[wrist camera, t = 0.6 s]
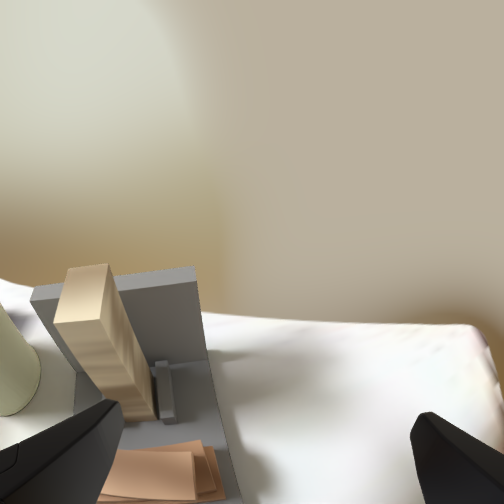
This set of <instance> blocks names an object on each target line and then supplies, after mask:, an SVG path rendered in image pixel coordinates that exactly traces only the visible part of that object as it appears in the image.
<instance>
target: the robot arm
mask: <svg viewBox="0 0 504 504" xmlns="http://www.w3.org/2000/svg"><path fill="white" fill-rule="evenodd" d="M124 424H125V421H124V417H123V413H122V409H121V405H120V403H119V402H118V401H116V400H112V399H104V400H102V401H100V402H98V403H96V404H94V405H93V406H91V407H89V408H87V409H85V410H83V411H81V412H79V413H77V414H76V415H74V416H72V417H70V418H68V419H66V420H64V421H62V422H60V423H58V424H56V425H54V426H52V427H50V428H48V429H46V430H44V431H42V432H40V433H38V434H36V435H34V436H32V437H30V438H28V439H25V440H23V441H21V442H20V443H17V444H15V445H12V446H10V447H8V448H6V449H3V450H1V451H0V504H96V502H97V500H98V498H99V495H100V493H101V491H102V488H103V486H104V484H105V481H106V479H107V477H108V474H109V472H110V470H111V467H112V465H113V462H114V459H115V455H116V452H117V448H118V445H119V442H120V438H121V435H122V432H123V429H124ZM410 440H411V445H412V450H413V455H414V460H415V466H416V471H417V476H418V479H419V483H420V486H421V489H422V493H423V496H424V500H425V504H504V454H502V453H500V452H498V451H497V450H495V449H493V448H491V447H490V446H488V445H486V444H485V443H483V442H481V441H479V440H478V439H476V438H474V437H473V436H471V435H469V434H468V433H466V432H464V431H463V430H461V429H459V428H458V427H456V426H454V425H453V424H451V423H450V422H448V421H446V420H445V419H443V418H441V417H440V416H438V415H437V414H435V413H433V412H425V413H421V414H420V415H419V416H418V417H417V420H416V422H415V424H414V426H413V428H412V430H411V432H410Z"/></svg>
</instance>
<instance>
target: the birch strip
mask: <svg viewBox="0 0 504 504" xmlns="http://www.w3.org/2000/svg"><path fill="white" fill-rule="evenodd" d="M53 324H54V325H55V327H56V329H57V330H58V332H59V333H60V335H61V337H62V338H63V340H64V341H65V343H66V344H67V346H68V347H69V349H70V350H71V352H72V353H73V355H74V356H75V358H76V359H77V361H78V362H79V363H80V365H81V366H82V368H83V369H84V370H85V372H86V373H87V374H88V376H89V377H90V378H91V380H92V381H93V382H94V384H95V385H96V386H97V388H98V389H99V390H100V391H101V393H102V394H103V395H104V396H105V398H106V399H112V400H116V401H118V402H119V403H120V405H121V409H122V413H123V417H124V420H125V421H126V422H141V421H154V420H158V419H157V409H156V399H155V387H154V376H153V374H152V372H151V370H150V368H149V366H148V364H147V361H146V359H145V357H144V355H143V352H142V350H141V348H140V346H139V343H138V341H137V339H136V336H135V334H134V331H133V329H132V326H131V324H130V321H129V319H128V316H127V314H126V311H125V309H124V306H123V303H122V301H121V298H120V295H119V292H118V290H117V287H116V284H115V281H114V278H113V275H112V272H111V270H110V266H109V264H108V263H106V264H99V265H91V266H84V267H77V268H69V269H68V272H67V275H66V279H65V282H64V285H63V289H62V292H61V295H60V299H59V303H58V306H57V310H56V314H55V318H54V322H53Z"/></svg>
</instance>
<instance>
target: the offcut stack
mask: <svg viewBox="0 0 504 504" xmlns="http://www.w3.org/2000/svg"><path fill="white" fill-rule="evenodd" d="M220 500H226V496H225V492H224V489H223V485H222V481H221V477H220V473H219V469H218V465H217V460H216V456H215V452H214V448H213V446H206V447H203V444H202V442H201V440H195V441H190V442H184V443H179V444H173V445H166V446H160V447H152V448H144V449H136V450H119V449H117V452H116V455H115V459H114V462H113V465H112V467H111V470H110V472H109V474H108V477H107V479H106V481H105V484H104V486H103V488H102V491H101V493H100V495H99V498H98V500H97V502H96V504H197V503H206V502H213V501H220Z"/></svg>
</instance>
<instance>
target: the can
mask: <svg viewBox="0 0 504 504" xmlns="http://www.w3.org/2000/svg"><path fill="white" fill-rule="evenodd" d="M40 375H41V366H40V361H39V358H38V355H37V353H36V352H35V350H34V349H33V348H32V347H31V346H30V345H29V344H28V343H27V342H26V340H25V339H24V338H23V336H22V335H21V334H20V332H19V331H18V329H17V328H16V327H15V325H14V324H13V322H12V321H11V319H10V318H9V316H8V314H7V313H6V311H5V310H4V308H3V307H2V305H1V303H0V416H8V415H12V414H14V413H16V412H18V411H20V410H21V409H23V408H24V407H25V406H26V405H27V404H28V403H29V402H30V400H31V399H32V397H33V396H34V394H35V392H36V390H37V387H38V384H39V381H40Z"/></svg>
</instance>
